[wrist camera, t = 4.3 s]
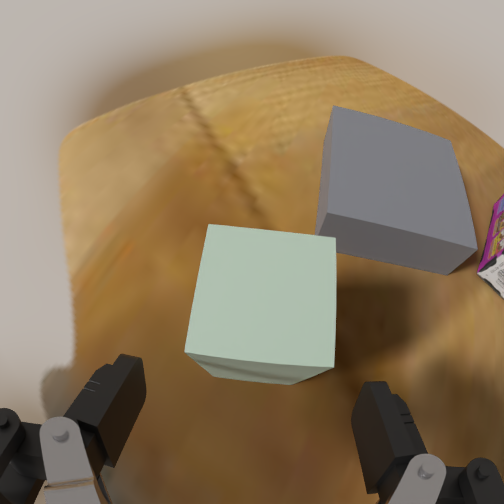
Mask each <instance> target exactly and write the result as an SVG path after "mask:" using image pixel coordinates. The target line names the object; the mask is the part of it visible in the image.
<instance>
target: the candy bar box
mask: <svg viewBox="0 0 504 504" xmlns="http://www.w3.org/2000/svg"><path fill="white" fill-rule="evenodd" d="M477 275H478V276H479V277H480V278H481V279H483V280H484V281H485V282H486V283H487V284H488V285H489V286H490V287H491V288H492V289H493V290H494V291H495V292H496V293H497V294H498V295H499V296H500V297H501V298H503V299H504V194H503V195H502V196H501V198H500V199H499V200H498V201H497V202H496V203H495V204H494V207H493V212H492V217H491V222H490V227H489V231H488V235H487V239H486V243H485V247H484V251H483V254H482V258H481V261H480V265H479V268H478V271H477Z"/></svg>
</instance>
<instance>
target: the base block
mask: <svg viewBox="0 0 504 504" xmlns="http://www.w3.org/2000/svg"><path fill="white" fill-rule="evenodd" d="M315 235H316V236H325V237H334V238H336V252H337V253H342V254H347V255H352V256H357V257H361V258H366V259H371V260H376V261H381V262H386V263H391V264H395V265H400V266H405V267H410V268H414V269H419V270H424V271H429V272H433V273H438V274H443V275H448V274H449V273H451V272H452V271H453V270H454V269H455V268H457V267H458V266H459V265H460V264H461V263H463V262H464V261H465V260H466V259H467V258H469V257H470V256H471V255H472V254H473V253H474V252H475V251H477V250H478V248H477V242H476V237H475V231H474V226H473V221H472V216H471V212H470V207H469V203H468V199H467V195H466V191H465V187H464V183H463V180H462V176H461V173H460V169H459V166H458V163H457V159H456V156H455V153H454V150H453V147H452V144H451V141H450V140H447V139H444V138H442V137H439V136H436V135H434V134H431V133H428V132H425V131H422V130H419V129H416V128H413V127H410V126H407V125H404V124H401V123H398V122H394V121H391V120H388V119H384V118H381V117H377V116H374V115H370V114H366V113H362V112H358V111H354V110H350V109H346V108H342V107H337V106H333V108H332V112H331V116H330V120H329V124H328V128H327V132H326V136H325V140H324V147H323V160H322V171H321V182H320V192H319V202H318V211H317V220H316V229H315Z"/></svg>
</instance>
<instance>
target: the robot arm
mask: <svg viewBox="0 0 504 504" xmlns="http://www.w3.org/2000/svg"><path fill="white" fill-rule="evenodd" d="M145 398H146V383H145V376H144V368H143V361H142V359H141V358H139V357H135V356H130V355H126V354H120V355H119V357H118V358H117V359H116V361H115V362H114V364H113V365H110V364H106V365H104V366H102V367H101V368H99V369H98V370H96V371H95V373H94V374H93V375H92V377H91V378H90V379H89V382H87V384H86V385H85V386H84V389H82V391H81V392H80V393H79V395H78V396H77V398H76V399H75V400H74V402H73V403H72V405H71V406H70V408H69V409H68V410H67V412H66V413H65V415H64V416H63V417H54V418H51V419H49V420H47V421H46V422H45V423H44V424H43V425H40V424H33V423H26V422H21V421H20V419H19V417H18V415H17V414H16V413H15V412H14V411H13V410H11V409H7V408H0V504H34V502H35V500H36V498H37V495H38V493H39V491H40V489H41V487H42V485H43V483H44V481H45V480H47V481H48V486H45V487H44V495H45V500H46V504H112V501H111V499H110V496H109V494H108V491H107V489H106V486H105V483H104V481H103V478H102V475H101V473H100V472H101V470H102V468H103V465H107V466H110V467H113V468H114V467H115V465H116V463H117V461H118V458H119V456H120V454H121V452H122V450H123V447H124V445H125V443H126V441H127V439H128V437H129V434H130V432H131V430H132V428H133V426H134V424H135V422H136V419H137V417H138V415H139V413H140V411H141V409H142V407H143V405H144V402H145ZM351 424H352V429H353V433H354V437H355V441H356V446H357V450H358V454H359V459H360V463H361V467H362V472H363V477H364V481H365V486H366V491H367V494H373V493H378V494H379V498H380V499H379V500H378V501H377V502H376V504H504V483H503V481H502V479H501V476H500V474H499V472H498V470H497V468H496V466H495V464H494V463H493V462H491V461H490V460H488V459H486V458H476V459H474V460H472V461H471V462H470V463H469V464H468V465H467V466H466V467H448V466H445V465H444V463H443V462H442V460H440V459H439V458H438V457H436V456H434V455H431V454H428V453H427V450H426V448H425V446H424V443H423V441H422V438H421V436H420V434H419V431H418V429H417V427H416V425H415V424H414V420H413V418H412V416H411V415H410V411H409V409H408V407H407V404H406V403H405V402H404V401H403V400H402V399H401V398H400V397H399V396H398V395H397V394H391V391H390V389H389V387H388V384H387V383H386V382H385V381H379V382H365V383H364V384H363V387H362V389H361V392H360V394H359V397H358V399H357V402H356V404H355V406H354V409H353V412H352V418H351Z"/></svg>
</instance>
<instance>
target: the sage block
mask: <svg viewBox="0 0 504 504" xmlns="http://www.w3.org/2000/svg"><path fill="white" fill-rule="evenodd" d="M335 333H336V238H334V237H325V236H316V235H308V234H299V233H290V232H281V231H271V230H262V229H252V228H243V227H233V226H223V225H212V224H209V225H208V230H207V234H206V239H205V244H204V249H203V254H202V259H201V264H200V269H199V274H198V279H197V284H196V289H195V295H194V300H193V305H192V311H191V317H190V322H189V328H188V334H187V339H186V345H185V351H184V352H185V353H186V354H187V355H188V356H190V357H191V358H192V359H193V360H194V361H196V362H197V363H198V364H199V365H200V366H202V367H203V368H204V369H205V370H206V371H208V372H209V373H210V374H211V375H213V376H214V377H220V378H228V379H236V380H244V381H254V382H264V383H275V384H287V385H293V384H295V383H298V382H300V381H303V380H305V379H308V378H310V377H313V376H315V375H317V374H320V373H322V372H324V371H327V370H329V369H331V368H334V358H335Z"/></svg>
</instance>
